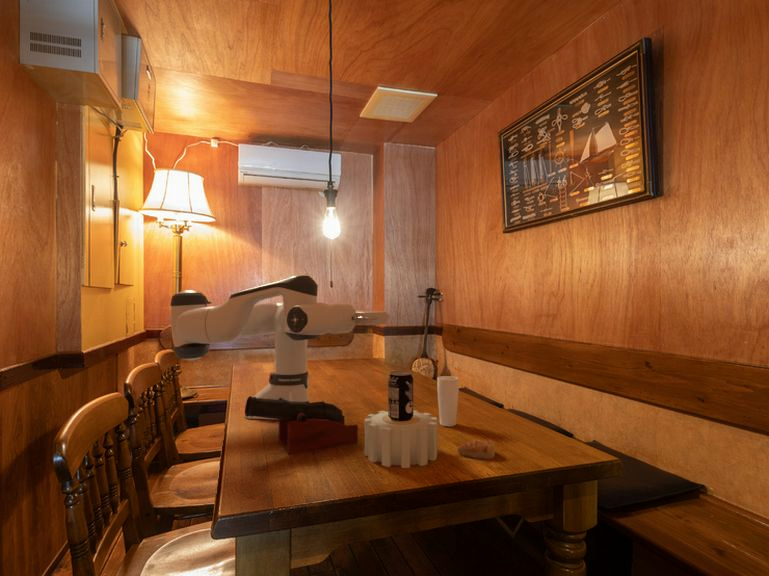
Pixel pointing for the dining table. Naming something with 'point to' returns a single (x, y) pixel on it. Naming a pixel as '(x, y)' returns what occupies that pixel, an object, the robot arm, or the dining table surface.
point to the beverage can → (400, 395)
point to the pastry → (477, 449)
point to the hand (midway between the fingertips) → (376, 316)
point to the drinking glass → (447, 399)
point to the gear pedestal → (401, 439)
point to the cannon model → (305, 424)
